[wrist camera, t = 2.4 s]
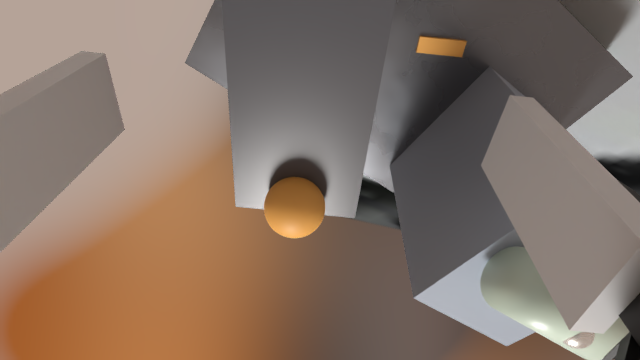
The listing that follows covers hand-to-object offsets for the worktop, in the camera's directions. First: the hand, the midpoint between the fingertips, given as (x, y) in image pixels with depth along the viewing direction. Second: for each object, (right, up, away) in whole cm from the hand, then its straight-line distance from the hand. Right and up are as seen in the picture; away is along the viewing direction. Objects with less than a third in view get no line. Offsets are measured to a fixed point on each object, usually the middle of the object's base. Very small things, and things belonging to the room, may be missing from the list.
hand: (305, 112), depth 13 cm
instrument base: (+5, +5, +10) cm, 12 cm away
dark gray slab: (0, +5, +6) cm, 8 cm away
